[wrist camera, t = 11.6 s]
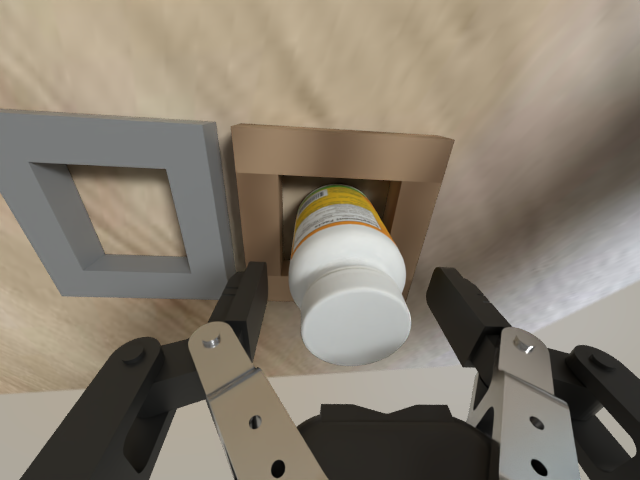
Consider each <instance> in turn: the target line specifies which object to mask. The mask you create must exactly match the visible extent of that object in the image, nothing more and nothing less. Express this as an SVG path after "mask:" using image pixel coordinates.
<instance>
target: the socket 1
mask: <svg viewBox="0 0 640 480" xmlns="http://www.w3.org/2000/svg"><path fill="white" fill-rule="evenodd" d="M66 164H77V165H97V166H117V167H136V168H156V169H166V171H167V175H168V180H169V184H170V188H171V192H172V196H173V200H174V204H175V208H176V212H177V217H178V221H179V225H180V229H181V233H182V237H183V241H184V245H185V249H186V254H187V257H173V256H142V255H111V254H105V253H104V251H103V248H102V246H101V244H100V241H99V239H98V237H97V234H96V232H95V230H94V228H93V225H92V223H91V221H90V218H89V216H88V214H87V211H86V209H85V207H84V205H83V202H82V200H81V198H80V195H79V193H78V191H77V188H76V186H75V184H74V181H73V179H72V177H71V175H70V172H69V170H68V168H67V165H66ZM0 193H1V194H2V196H3V198H4V199H5V201H6V203H7V204H8V206H9V208H10V209H11V211H12V213H13V214H14V216H15V218H16V220H17V221H18V223H19V225H20V226H21V228H22V230H23V231H24V233H25V235H26V236H27V238H28V240H29V241H30V243H31V245H32V247H33V248H34V250H35V252H36V253H37V255H38V257H39V258H40V260H41V262H42V263H43V265H44V267H45V268H46V270H47V272H48V273H49V275H50V277H51V279H52V280H53V282H54V284H55V285H56V287H57V289H58V290H59V292H60V294H61V295H62V296H75V297H119V298H162V299H205V300H219V299H220V297H221V296H222V292H223V290H224V289H225V286H226V284H227V282H228V280H229V279H230V278H231V277H232V276H233V275H234V274H235V273H236V269H235V262H234V254H233V247H232V239H231V232H230V224H229V217H228V209H227V202H226V194H225V187H224V179H223V172H222V164H221V157H220V149H219V142H218V134H217V127H216V122H208V121H192V120H175V119H159V118H143V117H126V116H110V115H94V114H77V113H61V112H45V111H28V110H12V109H0Z"/></svg>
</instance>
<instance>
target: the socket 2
mask: <svg viewBox="0 0 640 480" xmlns="http://www.w3.org/2000/svg"><path fill="white" fill-rule="evenodd" d="M231 134H232V143H233V152H234V161H235V171H236V180H237V189H238V198H239V208H240V217H241V226H242V236H243V245H244V254H245V263H246V268H247V266H248V263H249V262H250V261H255V262H266V264H267V276H268V300H267V301H292V302H295V301H294V299H293V297H292V295H291V292H290V288H289V266H290V260H283V202H282V175H294V176H314V177H334V178H354V179H373V180H391V181H390V186H389V191H388V196H387V201H386V206H385V211H384V216H383V221H382V222H383V224H384V226H385V227H386V229H387V231H388V232H389V234H390V236H391V237H392V239H393V241H394V242H395V244H396V246H397V248H398V249H399V251H400V253H401V255H402V258H403V260H404V264H405V269H406V281H405V286H404V289H403V292H402V296H403V298H404V300H405V302H406V299H407V296H408V292H409V289H410V286H411V282H412V279H413V276H414V273H415V269H416V266H417V263H418V259H419V256H420V253H421V249H422V246H423V243H424V240H425V236H426V233H427V230H428V226H429V223H430V220H431V216H432V213H433V210H434V207H435V203H436V200H437V197H438V193H439V190H440V187H441V183H442V180H443V177H444V174H445V170H446V167H447V164H448V160H449V157H450V154H451V150H452V147H453V144H454V141H455V140H453V139H449V138H445V137H441V136H437V135H420V134H404V133H388V132H371V131H355V130H339V129H322V128H306V127H290V126H273V125H257V124H237V125H234V126H231Z"/></svg>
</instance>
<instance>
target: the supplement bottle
mask: <svg viewBox="0 0 640 480" xmlns="http://www.w3.org/2000/svg"><path fill="white" fill-rule="evenodd" d="M405 281H406V269H405V264H404V260H403V258H402V255H401V253H400V251H399V249H398V248H397V246H396V244H395V242H394V241H393V239H392V237H391V236H390V234H389V232H388V231H387V229H386V227H385V226H384V224H383V222H382V221H381V219H380V217H379V215H378V214H377V212H376V210H375V209H374V207H373V205H372V204H371V202H370V201H369V199H368V198H367V197H366V196H365V195H364V194H363V193H362V192H361V191H359V190H358V189H356V188H354V187H351V186H348V185H345V184H329V185H325V186H322V187H319V188H317V189H315V190H314V191H312V192H311V193H310V194H309V195H307V196H306V198H305V199H304V200H303V201H302V203H301V205H300V207H299V209H298V212H297V216H296V222H295V230H294V237H293V245H292V252H291V259H290V266H289V288H290V292H291V295H292V297H293V299H294V301H295V303H296V305H297V306H298V307H299V308H300V310H301V336H302V340H303V342H304V344H305V346H306V347H307V349H308V350H309V351H310V352H311V353H312V354H313V355H315V356H316V357H317V358H319V359H321V360H323V361H326V362H328V363H331V364H335V365H341V366H359V365H366V364H370V363H374V362H377V361H379V360H382V359H384V358H386V357H388V356H390V355H391V354H392V353H394V352H395V351H396V350H397V349H399V348H400V347H401V346H402V345H403V343H404V342H405V341H406V339H407V337H408V335H409V333H410V329H411V316H410V312H409V310H408V307H407V305H406V303H405V300H404V298H403V296H402V292H403V289H404V286H405Z"/></svg>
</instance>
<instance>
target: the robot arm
mask: <svg viewBox="0 0 640 480" xmlns="http://www.w3.org/2000/svg"><path fill="white" fill-rule="evenodd" d="M267 300H268V276H267V264H266V262H255V261H250V262H249V263H248V266H247V268H246V270H245V272H236V273H235V274H234V275H233V276H232V277H231V278H230V279H229V280H228V282H227V284H226V286H225V289H224V290H223V292H222V296H221V297H220V299H219V301H218V303H217V305H216V307H215V309H214V311H213V313H212V315H211V317H210V319H209V321H208V323H207V324H205V325H203V326H201V327H199V328H198V329H197V330H195V331H194V333H193V334H192V335H191V337H190V338H188V339H186V340H182V341H179V342H174V343H170V344H166V345H162V346H161V345H160V343H159V341H158V340H157V339H155V338H152V337H142V338H137V339H134V340H132V341H129V342H127V343H126V344H124V345H122V346H121V347H119V348H118V349H117V350H116V351H115V352H114V353H113V354H112V355H111V356H110V357H109V359H108V360H107V361H106V363H105V364H104V366H103V367H102V368H101V370H100V371H99V372H98V374H97V375H96V376H95V378H94V379H93V380H92V382H91V383H90V385H89V386H88V387H87V389H86V390H85V391H84V393H83V394H82V396H81V397H80V398H79V400H78V401H77V402H76V404H75V405H74V406H73V408H72V409H71V410H70V412H69V413H68V414H67V416H66V417H65V419H64V420H63V421H62V423H61V424H60V426H59V427H58V428H57V429H56V431H55V432H54V434H53V435H52V436H51V438H50V439H49V440H48V442H47V443H46V444H45V446H44V447H43V449H42V450H41V451H40V453H39V454H38V455H37V457H36V458H35V459H34V461H33V462H32V463H31V465H30V466H29V468H28V469H27V470H26V472H25V473H24V474H23V476H22V477H21V478H20V480H149V478H150V476H151V473H152V471H153V468H154V465H155V463H156V460H157V458H158V455H159V452H160V450H161V448H162V445H163V443H164V440H165V437H166V435H167V432H168V430H169V427H170V425H171V422H172V419H173V417H174V415H175V412H176V410H177V408H180V407H183V406H186V405H189V404H192V403H195V402H198V401H201V400H205V399H206V402H207V405H208V408H209V410H210V413H211V416H212V419H213V421H214V424H215V427H216V430H217V433H218V435H219V438H220V441H221V443H222V446H223V449H224V452H225V455H226V458H227V461H228V464H229V466H230V469H231V472H232V475H233V478H234V480H581V479H580V473H579V467H578V463H579V464H580V466H581V467H582V469H583V470H584V472H585V473H586V474H587V476H588V477H589V479H590V480H640V379H639V378H637V377H636V376H635V375H634V374H633V373H632V372H631V371H630V370H629V369H628V368H626V367H625V366H624V365H623V364H622V363H621V362H619V361H618V360H617V359H615V358H614V357H612V356H610V355H609V354H607V353H605V352H603V351H601V350H599V349H597V348H594V347H590V346H585V345H579V346H576V347H575V348H574V349H573V350H572V351H571V353H570V354H568V353H564V352H561V351H557V350H553V349H549V348H547V347H546V346H545V344H544V343H543V342H542V341H541V340H540V339H538V338H537V337H536V336H534V335H533V334H531V333H529V332H527V331H525V330H522V329H519V328H515V327H512V326H511V325H510V324H509V323H508V322H507V320H506V319H505V318H504V317H503V316H502V315H501V314H500V312H499V311H498V310H497V309H496V308H495V307H494V306H493V305H492V303H489V300H488V299H487V298H486V297H485V296H483V293H482V292H481V291H480V290H479V289H478V288H477V286H476V285H474V284H473V283H471V282H470V281H468V280H467V279H464V278H463V277H462V276H461V275H460V274H459V272H458V271H457V270H456V269H455V268H447V267H437V268H435V270H434V272H433V275H432V278H431V281H430V284H429V287H428V290H427V293H426V300H427V304H428V306H429V308H430V310H431V311H432V313H433V315H434V317H435V319H436V320H437V322H438V324H439V326H440V327H441V329H442V331H443V333H444V335H445V336H446V338H447V340H448V342H449V344H450V345H451V347H452V349H453V351H454V352H455V354H456V356H457V358H458V360H459V361H460V363H461V365H462V367H475V368H476V369H477V371H478V372H477V374H476V376H475V380H474V386H473V391H472V398H471V403H470V408H469V414H468V418H467V421H466V422H464V421H462V420H460V419H457V418H455V417H452V415H451V413H450V410H449V408H448V406H447V405H414V406H411V407H408V408H405V409H402V410H399V411H396V412H392V413H389V414H385V413H381V412H377V411H374V410H371V409H367V408H364V407H360V406H356V405H353V404H321V410H320V411H321V412H320V415H317V416H314V417H312V418H310V419H308V420H306V421H304V422H303V423H301V424H300V425H298V426H297V427H296V426H295V424H294V423H293V421H292V419H291V418H290V416H289V414H288V413H287V411H286V409H285V408H284V406H283V404H282V403H281V401H280V399H279V398H278V396H277V394H276V393H275V391H274V389H273V388H272V386H271V385H270V383H269V381H268V379H267V378H266V376H265V374H264V373H263V371H262V370H261V369H260V368H259V367H257V368H255V367H254V366H253V364H252V363H253V359H254V355H255V350H256V346H257V342H258V338H259V334H260V329H261V325H262V321H263V317H264V313H265V308H266V304H267ZM603 407H605V408H606V410H608V412H609V413H610V414H611V415H612V416H613V417H614V419H615V420H616V421H617V422H618V423H619V424H620V425H621V426H622V427H623V429H624V430H625V431H626V432H627V433H628V434H629V435H630V436H631V438H632V439H633V441H634V443H635V445H636V450H637V452H636V455H635V456H634V457H633V458H631V457H630V456H629V455H628V453H627V452H626V451H625V450H624V449H623V448H622V446H621V445H620V444H619V443H618V442H617V440H616V439H615V438H614V437H613V436H612V434H611V433H610V432H609V431H608V430H607V429H606V427H605V426H604V425H603V424H602V423H601V422H600V420H599V419H598V418H597V417H596V416H595V414H596V413H597V412H598V411H599V410H601V409H602V408H603Z"/></svg>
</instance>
